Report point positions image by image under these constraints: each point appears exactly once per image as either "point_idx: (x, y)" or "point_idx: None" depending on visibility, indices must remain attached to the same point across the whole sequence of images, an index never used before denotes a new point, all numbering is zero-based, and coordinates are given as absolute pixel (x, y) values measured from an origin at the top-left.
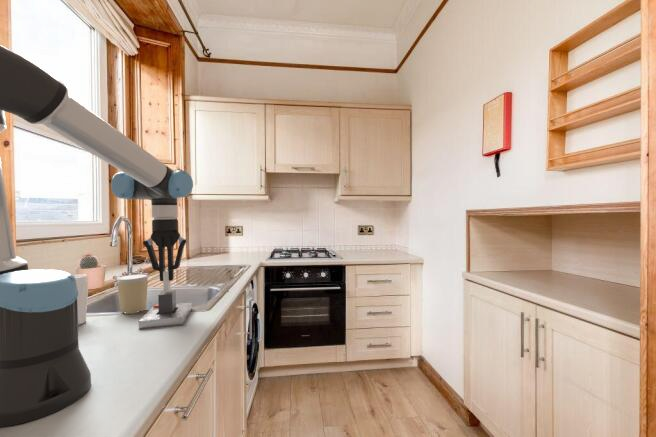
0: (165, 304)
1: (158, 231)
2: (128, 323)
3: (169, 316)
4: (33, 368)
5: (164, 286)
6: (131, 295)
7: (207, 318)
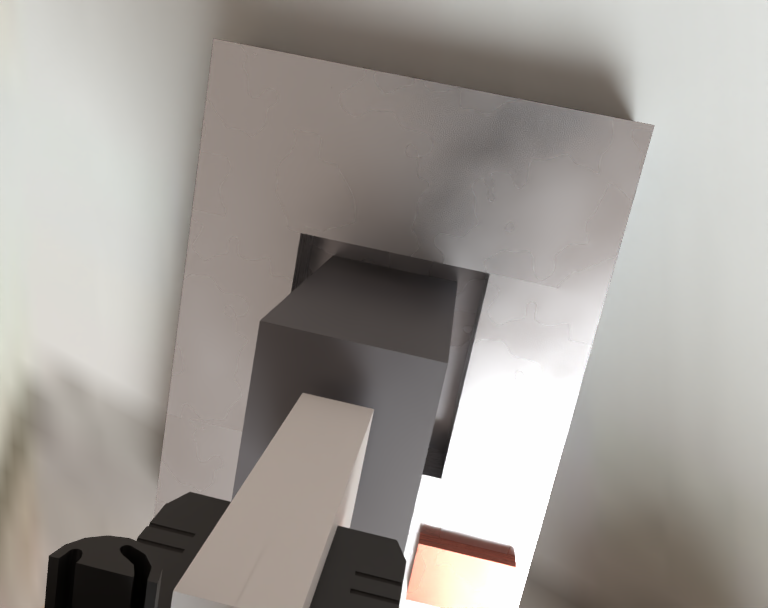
0: (374, 305)
1: None
2: (731, 367)
3: (345, 132)
4: None
5: (343, 440)
6: None
7: (27, 134)
